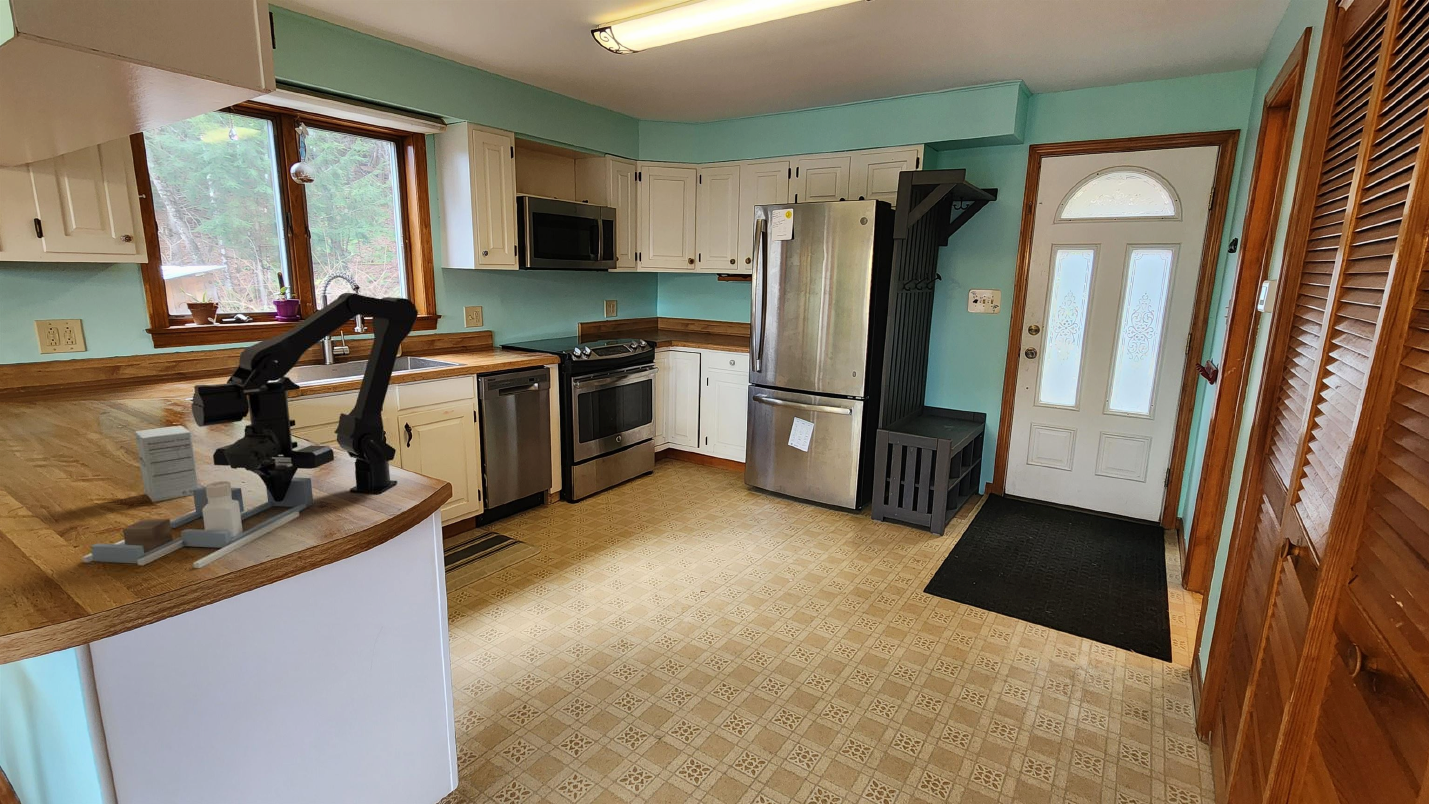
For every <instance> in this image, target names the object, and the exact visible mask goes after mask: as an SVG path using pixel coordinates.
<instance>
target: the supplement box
mask: <svg viewBox="0 0 1429 804" xmlns="http://www.w3.org/2000/svg"><path fill="white" fill-rule="evenodd" d="M134 436H135V441H136V442H135V443H136V449H137V454H138V460H139V461H138V462H139V467H140V474H141V478H142V486H143V490H144V494H145V495H146V496H148V497H149V499H150V500H151V502H153V503H157V502H161V501H162V502H163V501H167V500H168V501H169V500H173V499H178V498H182V497H188V496H193V490H194V489H196V488H199V480H198V479H199V478H198V473H197V464H196V460H195V459H196V457H195V451H194V445H193V444H194V443H193V437H192V432H191V431H189V430H188V428H185V427H184V426H182V425H174V426H166V427H165V426H164V427H159V428H151V429H143V430H136V431H134Z"/></svg>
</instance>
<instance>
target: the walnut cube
mask: <svg viewBox="0 0 1429 804" xmlns="http://www.w3.org/2000/svg"><path fill="white" fill-rule="evenodd" d="M170 520H171V519H170V518H153V519H152V518H151V519H150V518H149V519H147V518H146V519H141V520H139V521H137V522H134V523H133V524H130V525H128V526H126V527H124V528H122V533H123V538H124V539H123V540H125V545H140V546H143V549H144V553H147V552H149V551H151V550H153V549H155V548H158V547H160V546H162V545H164V544H167V543H169V542H171V541H173V540H174V537H173V533H172V528H171V524H170Z"/></svg>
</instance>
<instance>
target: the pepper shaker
mask: <svg viewBox="0 0 1429 804" xmlns="http://www.w3.org/2000/svg"><path fill="white" fill-rule="evenodd" d="M205 486H206V487H205V488H206V495H207V498H208V504H207V505H205V506H204V508H203V509H202V511H203V517H202V518H203V524H204V529H205V530H217V531H230V534H231V538H233V537H235V536H237V535H239V534H241V533H243V532H244V531H243V530H244V529H243V524H242V520H241V515H240V508H239V501H237V500H232V497H231V494H232V492H231V488H232V486H231V481H224V480H223V481H215V482H211V483H209V484H206V485H205Z"/></svg>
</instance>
